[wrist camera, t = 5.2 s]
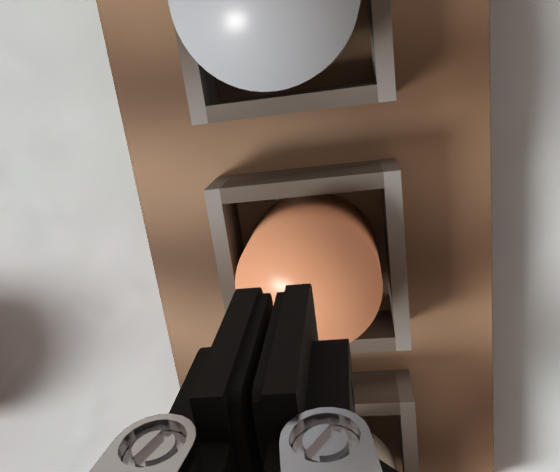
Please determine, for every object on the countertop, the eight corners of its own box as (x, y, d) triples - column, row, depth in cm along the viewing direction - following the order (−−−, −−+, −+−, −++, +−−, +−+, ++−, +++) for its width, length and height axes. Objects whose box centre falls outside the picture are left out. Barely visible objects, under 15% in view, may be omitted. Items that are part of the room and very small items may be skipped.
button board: (102, -88, 18) (37, -126, 14) (471, -159, 16) (508, -223, 12) (218, 482, 25) (196, 557, 22) (482, 478, 24) (507, 559, 20)
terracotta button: (243, 197, 18) (224, 223, 16) (372, 185, 18) (377, 210, 15) (261, 313, 20) (246, 356, 17) (381, 305, 19) (387, 348, 16)
